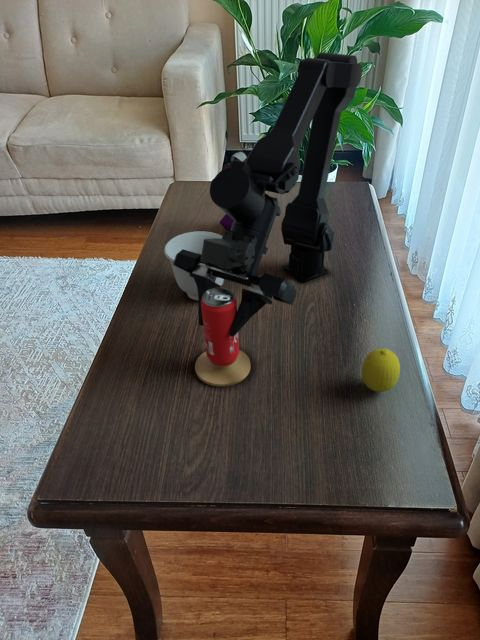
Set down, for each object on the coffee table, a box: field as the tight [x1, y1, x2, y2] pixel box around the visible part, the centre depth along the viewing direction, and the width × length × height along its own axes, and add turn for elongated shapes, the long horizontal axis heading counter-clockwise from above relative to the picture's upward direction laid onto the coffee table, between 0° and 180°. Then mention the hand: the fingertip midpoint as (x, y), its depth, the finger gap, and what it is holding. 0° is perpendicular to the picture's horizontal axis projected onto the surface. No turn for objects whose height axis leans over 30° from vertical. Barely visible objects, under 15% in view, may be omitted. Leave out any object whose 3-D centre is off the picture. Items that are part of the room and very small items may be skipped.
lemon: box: [361, 347, 401, 393], centre depth 78 cm, size 6×6×8 cm
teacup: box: [163, 230, 225, 301], centre depth 98 cm, size 12×15×10 cm
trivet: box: [194, 349, 252, 388], centre depth 85 cm, size 9×9×1 cm
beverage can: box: [201, 286, 240, 367], centre depth 80 cm, size 5×5×12 cm
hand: (215, 330), depth 79 cm, fingers closed on beverage can, 5 cm apart
